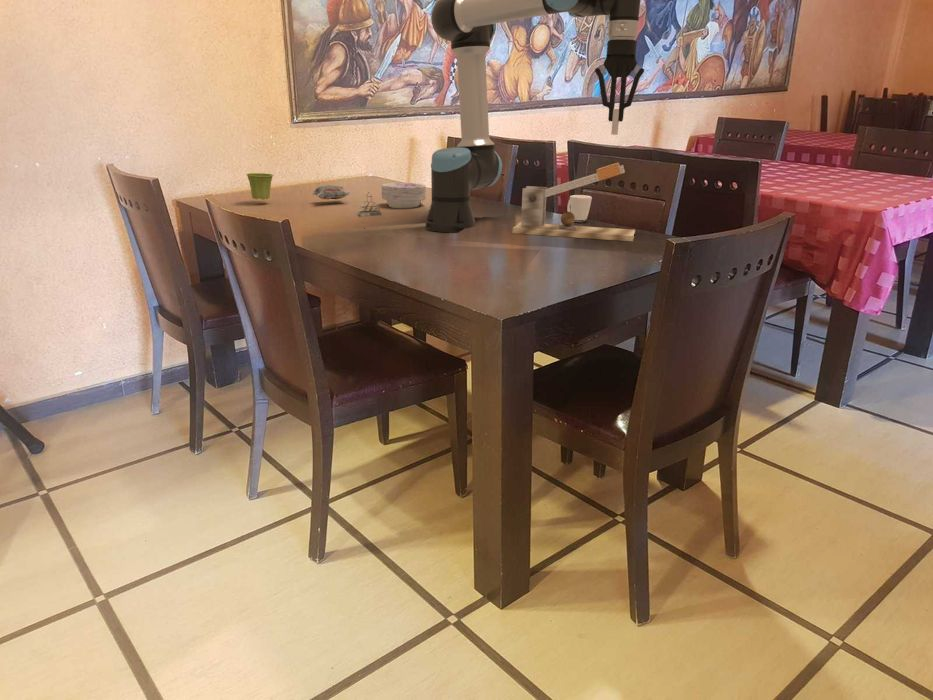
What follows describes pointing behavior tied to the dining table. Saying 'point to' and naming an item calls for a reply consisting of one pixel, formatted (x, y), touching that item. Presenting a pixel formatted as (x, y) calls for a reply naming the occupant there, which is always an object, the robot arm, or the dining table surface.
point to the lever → (587, 179)
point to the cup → (579, 206)
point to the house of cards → (369, 213)
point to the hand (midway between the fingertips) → (614, 134)
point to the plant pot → (260, 185)
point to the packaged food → (330, 192)
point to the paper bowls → (403, 194)
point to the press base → (579, 232)
